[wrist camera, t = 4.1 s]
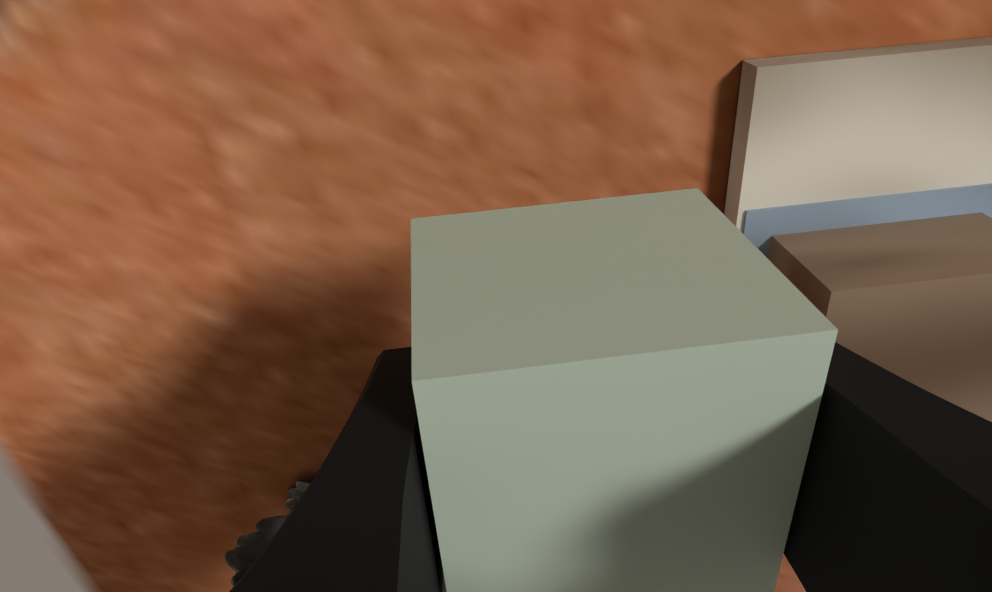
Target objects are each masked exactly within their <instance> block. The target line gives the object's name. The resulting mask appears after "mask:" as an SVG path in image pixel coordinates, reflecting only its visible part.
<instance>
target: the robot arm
mask: <svg viewBox="0 0 992 592" xmlns="http://www.w3.org/2000/svg"><path fill="white" fill-rule="evenodd" d="M784 554H785V556H786V558H787V559H788V561H789V563H790V565H791V566H792V568H793V570H794V571H795V573H796V575H797V576H798V578H799V580H800V582H801V583H802V585H803V587H804V588H805V590H806V592H992V422H991V421H988V420H986V419H984V418H982V417H980V416H978V415H976V414H974V413H972V412H969V411H967V410H965V409H963V408H961V407H959V406H957V405H955V404H953V403H951V402H949V401H947V400H945V399H942V398H940V397H938V396H936V395H934V394H932V393H930V392H928V391H926V390H924V389H922V388H920V387H918V386H917V385H915V384H913V383H911V382H909V381H907V380H905V379H903V378H901V377H899V376H897V375H895V374H893V373H892V372H890V371H888V370H886V369H884V368H882V367H880V366H878V365H877V364H875V363H873V362H871V361H869V360H867V359H865V358H864V357H862V356H860V355H858V354H856V353H855V352H853V351H851V350H849V349H847V348H845V347H844V346H842V345H840V344H838V343H836V342H835V345H834V349H833V353H832V357H831V361H830V365H829V369H828V373H827V378H826V382H825V386H824V390H823V394H822V398H821V402H820V406H819V410H818V414H817V418H816V422H815V427H814V431H813V435H812V439H811V443H810V447H809V451H808V455H807V459H806V463H805V467H804V471H803V476H802V480H801V484H800V488H799V492H798V496H797V500H796V504H795V508H794V512H793V516H792V520H791V525H790V529H789V533H788V537H787V541H786V545H785V549H784ZM442 585H443V567H442V560H441V554H440V548H439V542H438V536H437V530H436V524H435V518H434V512H433V506H432V500H431V494H430V488H429V482H428V476H427V470H426V464H425V458H424V452H423V446H422V440H421V434H420V428H419V422H418V416H417V410H416V404H415V398H414V392H413V386H412V348H411V347H407V348H398V349H390V350H384V351H383V352H382V353H381V354H380V355H379V356H378V357H377V359H376V362H375V365H374V367H373V369H372V372H371V374H370V376H369V379H368V381H367V383H366V385H365V387H364V389H363V392H362V394H361V396H360V398H359V400H358V402H357V404H356V406H355V408H354V410H353V412H352V413H351V415H350V417H349V419H348V421H347V422H346V424H345V426H344V428H343V430H342V431H341V433H340V435H339V437H338V439H337V440H336V442H335V444H334V446H333V448H332V449H331V451H330V453H329V454H328V456H327V458H326V459H325V461H324V462H323V464H322V466H321V467H320V469H319V470H318V472H317V473H316V475H315V476H314V478H313V480H312V481H311V483H310V484H309V486H308V487H307V489H306V490H305V492H304V494H303V495H302V497H301V498H300V500H299V501H298V503H297V504H296V506H295V507H294V509H293V510H292V511H291V513H290V514H289V516H288V517H287V519H286V520H285V521H284V523H283V524H282V526H281V527H280V528H279V530H278V531H277V532H276V534H275V535H274V536H273V538H272V539H271V541H270V542H269V543H268V544H267V546H266V547H265V548H264V550H263V551H262V552H261V553H260V555H259V556H258V557H257V559H256V560H255V561H254V563H253V564H252V565H251V566H250V568H249V569H248V570H247V571H246V573H245V574H244V575H243V576H242V577H241V579H240V580H239V581H238V582H237V583H236V584H235V586H234V587H233V588H232V589H231V590H230V592H442Z"/></svg>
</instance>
